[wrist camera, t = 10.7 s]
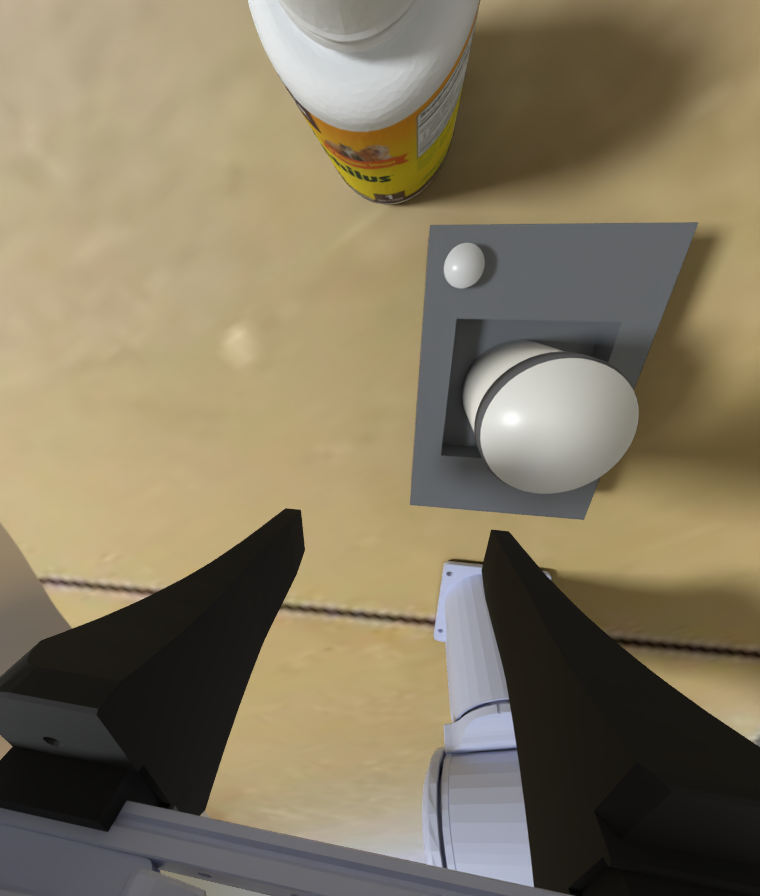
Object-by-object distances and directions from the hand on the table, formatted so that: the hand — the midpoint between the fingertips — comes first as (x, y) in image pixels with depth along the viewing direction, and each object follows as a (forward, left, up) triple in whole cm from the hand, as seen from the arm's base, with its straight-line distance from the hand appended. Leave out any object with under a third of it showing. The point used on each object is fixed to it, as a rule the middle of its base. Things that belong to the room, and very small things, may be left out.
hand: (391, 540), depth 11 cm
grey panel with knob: (+4, -6, -9) cm, 12 cm away
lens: (+4, -6, -8) cm, 11 cm away
